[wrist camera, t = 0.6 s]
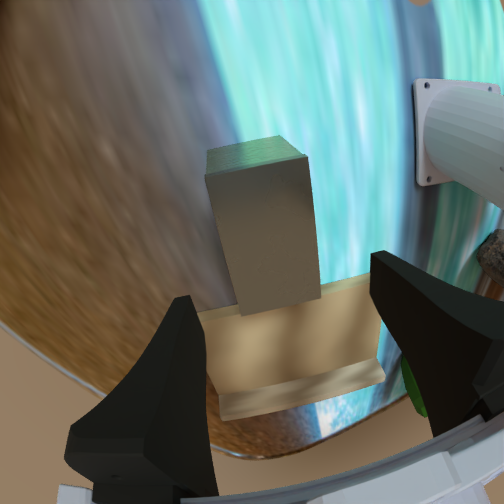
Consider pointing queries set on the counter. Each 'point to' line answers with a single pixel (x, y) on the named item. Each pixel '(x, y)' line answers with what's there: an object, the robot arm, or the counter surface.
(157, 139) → the counter surface
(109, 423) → the robot arm
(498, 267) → the perforated stone tool
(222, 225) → the tea tin
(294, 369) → the shelf board
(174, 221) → the counter surface
